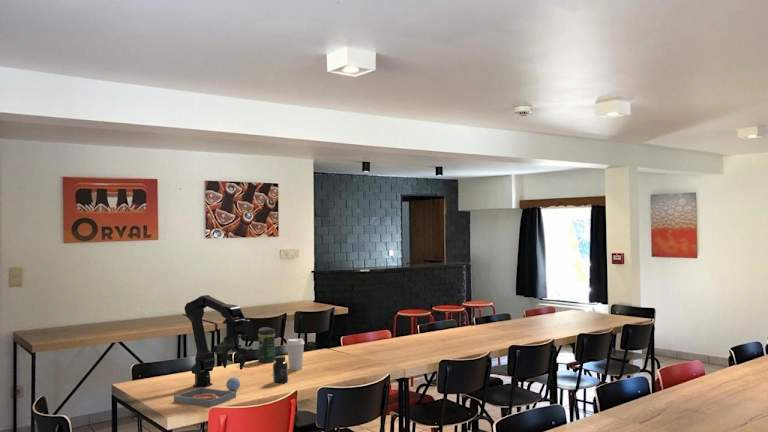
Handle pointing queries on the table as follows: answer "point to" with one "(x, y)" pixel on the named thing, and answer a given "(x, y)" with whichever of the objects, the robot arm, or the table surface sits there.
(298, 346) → the coffee cup
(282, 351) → the table surface
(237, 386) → the ball
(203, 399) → the grey rectangular frame
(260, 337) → the coffee jar
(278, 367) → the supplement bottle
